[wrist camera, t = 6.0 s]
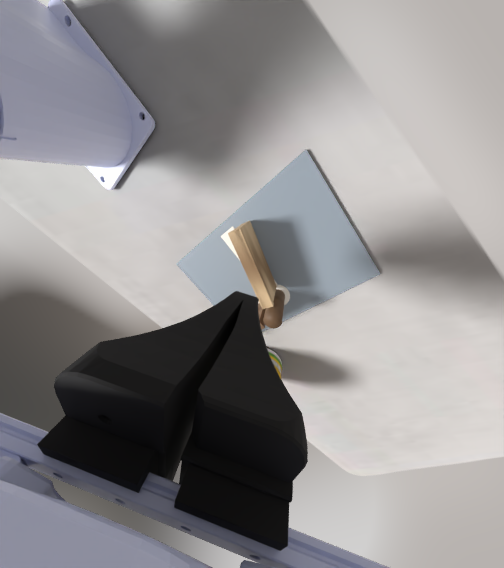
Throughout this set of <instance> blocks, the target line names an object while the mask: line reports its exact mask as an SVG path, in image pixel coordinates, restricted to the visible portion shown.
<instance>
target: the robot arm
mask: <svg viewBox="0 0 504 568" xmlns="http://www.w3.org/2000/svg"><path fill="white" fill-rule="evenodd" d="M70 21H71V25H70ZM143 114H144V115H145V119H144V120H143V118H142V116H143ZM154 128H155V121H154V119H153V118H152V116H151V115H150V114H149V112H148V111H147V110H146V108H145V107H144V106H143V105H142V103H141V102H140V101H139V99H138V98H137V97H136V95H135V94H134V93H133V91H132V90H131V89H130V88H129V86H128V85H127V84H126V82H125V81H124V80H123V78H122V77H121V76H120V75H119V73H118V72H117V71H116V69H115V68H114V67H113V65H112V64H111V63H110V61H109V60H108V59H107V58H106V56H105V55H104V54H103V52H102V51H101V50H100V48H99V47H98V46H97V45H96V43H95V42H94V41H93V39H92V38H91V37H90V35H89V34H88V33H87V31H86V30H85V29H84V28H83V26H82V25H81V24H80V22H79V21H78V20H77V18H76V17H75V16H74V15H73V13H72V12H71V11H70V9H69V8H68V7H67V5H66V4H65V3H64V2H63V1H62V0H50V1H49V4H48V8H47V7H46V6H45V5H43V4H42V3H40V2H39V1H37V0H0V159H10V160H22V161H33V162H45V163H56V164H68V165H79V166H86V167H87V168H88V169H89V171H90V172H91V173H92V174H93V175H94V176H95V177H96V178H97V179H98V180H99V182H100V183H101V184H102V185H103V186H104V187H105V188H106V189H108V190H113V189H114V188H115V187H116V185H117V184H118V182H119V181H120V179H121V178H122V176H123V175H124V173H125V172H126V170H127V169H128V167H129V166H130V164H131V163H132V161H133V160H134V158H135V157H136V155H137V154H138V152H139V151H140V149H141V148H142V146H143V145H144V143H145V142H146V140H147V139H148V137H149V136H150V134H151V133H152V131H153V130H154ZM104 178H105V180H104ZM258 302H259V299H258V297H255V296H251V295H248V294H245V293H242V292H239V291H235V292H233V293H232V294H231V295H229V296H228V297H226V298H225V299H223V300H222V301H220V302H219V303H217V304H216V305H214V306H213V307H211V308H209V309H207V310H205V311H204V312H202V313H200V314H198V315H196V316H194V317H192V318H190V319H187V320H185V321H183V322H180V323H177V324H174V325H171V326H168V327H165V328H162V329H159V330H155V331H152V332H148V333H144V334H140V335H136V336H131V337H126V338H120V339H115V340H110V341H103V342H100V343H98V344H97V345H96V346H94V347H93V348H92V349H90V350H89V351H88V352H86V353H85V354H84V355H83V356H81V357H80V358H79V359H78V360H76V361H75V362H74V363H73V364H71V365H70V366H69V367H68V368H66V369H65V370H64V371H63V372H62V373H60V374H59V375H58V376H57V377H56V379H55V384H54V388H55V392H56V394H57V397H58V399H59V401H60V403H61V406H62V408H63V410H64V412H65V414H66V416H65V417H64V418H63V419H62V420H61V421H60V422H59V423H58V424H57V425H56V426H55V427H54V428H53V429H52V430H51V431H50V432H47V431H44V430H42V429H39V428H37V427H34V426H32V425H29V424H27V423H24V422H22V421H19V420H17V419H14V418H12V417H9V416H7V415H4V414H2V413H0V568H212V567H210V566H208V565H206V564H204V563H202V562H200V561H198V560H196V559H194V558H192V557H190V556H188V555H186V554H184V553H182V552H180V551H178V550H176V549H174V548H172V547H169V546H168V545H166V544H164V543H162V542H160V541H157V540H155V539H153V538H151V537H149V536H146V535H144V534H142V533H140V532H138V531H135V530H133V529H131V528H129V527H127V526H124V525H122V524H120V523H117V522H115V521H113V520H110V519H108V518H105V517H103V516H100V515H98V514H96V513H93V512H91V511H88V510H86V509H83V508H81V507H78V506H75V505H73V504H70V503H67V502H66V501H65V500H64V499H63V498H62V497H61V496H60V495H59V494H58V493H57V491H56V490H55V489H54V486H53V483H52V481H51V480H49V479H47V478H45V477H44V476H42V475H40V474H39V473H37V472H35V471H34V470H36V471H39V472H41V473H44V474H46V475H49V476H51V477H53V478H56V479H58V480H61V481H63V482H65V483H68V484H70V485H72V486H75V487H77V488H80V489H82V490H84V491H87V492H89V493H92V494H94V495H97V496H99V497H101V498H104V499H106V500H108V501H111V502H113V503H116V504H118V505H121V506H123V507H125V508H128V509H130V510H133V511H135V512H137V513H140V514H142V515H145V516H147V517H149V518H152V519H154V520H157V521H159V522H161V523H164V524H166V525H169V526H171V527H173V528H176V529H178V530H181V531H183V532H185V533H188V534H190V535H193V536H195V537H197V538H200V539H202V540H205V541H207V542H209V543H212V544H214V545H217V546H219V547H222V548H224V549H226V550H229V551H231V552H233V553H236V554H238V555H241V556H243V557H245V558H248V559H251V560H253V561H255V562H257V563H255V562H251V561H246V560H244V561H243V562H242V563H241V566H240V568H389V567H387V566H384V565H381V564H379V563H377V562H374V561H371V560H369V559H366V558H364V557H361V556H359V555H356V554H354V553H351V552H349V551H346V550H344V549H341V548H339V547H336V546H334V545H331V544H329V543H326V542H324V541H321V540H319V539H316V538H314V537H311V536H308V535H306V534H304V533H301V532H298V531H296V530H293V529H291V528H288V522H289V502H291V501H292V490H293V480H294V479H295V478H296V476H297V475H298V474H299V473H300V472H301V471H302V470H303V469H304V467H305V466H306V464H307V462H308V461H307V454H308V452H307V440H306V433H305V427H304V422H303V417H302V413H301V411H300V410H299V408H298V407H297V405H296V404H295V402H294V401H293V399H292V397H291V396H290V394H289V393H288V391H287V389H286V388H285V386H284V384H283V382H282V380H281V379H280V377H279V374H278V372H277V370H276V368H275V366H274V364H273V362H272V360H271V357H270V355H269V352H268V350H267V347H266V344H265V341H264V338H263V334H262V330H261V325H260V320H259V312H258ZM181 460H182V465H181V473H180V482H179V484H178V483H175V482H173V479H174V476H175V473H176V471H177V468H178V466H179V463H180V461H181ZM30 468H32V469H34V470H32V469H30ZM259 563H260V564H259Z"/></svg>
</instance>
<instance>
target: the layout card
mask: <svg viewBox="0 0 504 568" xmlns="http://www.w3.org/2000/svg"><path fill="white" fill-rule="evenodd" d="M248 221H250V222H251V224H252V227H253V229H254V232H255V234H256V237H257V239H258V241H259V244H260V246H261V249H262V251H263V254H264V256H265V259H266V261H267V264H268V266H269V269H270V271H271V273H272V276H273V278H274V281H275V283H276V286H277V287H276V289H279V290H281V291H283V292H284V294H285V301H284V310H283V318H282V322H283V321H285V320H287V319H289V318H291V317H293V316H295V315H297V314H299V313H301V312H304V311H306V310H308V309H310V308H312V307H314V306H316V305H318V304H320V303H322V302H324V301H326V300H328V299H330V298H332V297H334V296H336V295H338V294H341V293H343V292H345V291H347V290H349V289H351V288H353V287H355V286H357V285H359V284H361V283H363V282H365V281H367V280H369V279H371V278H373V277H375V276H377V275H380V272H379V270H378V269H377V267H376V265H375V264H374V262H373V260H372V259H371V257H370V255H369V254H368V252H367V250H366V249H365V247H364V245H363V244H362V242H361V240H360V239H359V237H358V235H357V234H356V232H355V230H354V229H353V227H352V225H351V223H350V222H349V220H348V218H347V217H346V215H345V213H344V212H343V210H342V208H341V207H340V205H339V203H338V202H337V200H336V198H335V197H334V195H333V193H332V192H331V190H330V188H329V187H328V185H327V183H326V182H325V180H324V178H323V177H322V175H321V173H320V172H319V170H318V168H317V166H316V165H315V163H314V161H313V160H312V158H311V156H310V155H309V153H308V151H307V150H305V151H304V152H303V153H301V154H300V155H299V156H298V157H297V158H296V159H295V160H293V161H292V162H291V163H290V164H289V165H288V166H287V167H286V168H284V169H283V170H282V171H281V172H280V173H279V174H278V175H276V176H275V177H274V178H273V179H272V180H271V181H270V182H269V183H267V184H266V185H265V186H264V187H263V188H262V189H261V190H259V191H258V192H257V193H256V194H255V195H254V196H253V197H252V198H250V199H249V200H248V201H247V202H246V203H245V204H244V205H242V206H241V207H240V208H239V209H238V210H237V211H236V212H235V213H233V214H232V215H231V216H230V217H229V218H228V219H227V220H225V221H224V222H223V223H222V224H221V225H220V226H219V227H218V228H216V229H215V230H214V231H213V232H212V233H211V234H210V235H208V236H207V237H206V238H205V239H204V240H203V241H202V242H201V243H199V244H198V245H197V246H196V247H195V248H194V249H193V250H191V251H190V252H189V253H188V254H187V255H186V256H185V257H184V258H182V259H181V260H180V261H179V262H178V263H177V265H178V267H179V268H180V269H181V270H182V271H183V272H184V273H185V274H186V275H187V276H188V278H189V279H190V280H191V281H192V282H193V283H194V284H195V285H196V286H197V288H198V289H199V290H200V291H201V292H202V293H203V294H204V295H205V296H206V298H207V299H208V300H209V301H210V302H211V303H212V304H213V305H216V304H217V303H219V302H220V301H222V300H223V299H225V298H226V297H228V296H229V295H231V294H232V293H233V292H235V291H239V292H242V293H245V294H248V295H251V296H255V297H257V296H256V294H255V292H254V290H253V288H252V286H251V283H250V281H249V279H248V277H247V275H246V272H245V270H244V268H243V266H242V264H241V261H240V259H239V257H238V255H237V253H236V251H235V248H234V246H233V244H232V242H231V240H230V237H229V235H228V233H229V232H231V231H233V230H234V229H235V228H237V227H238V226H240V225H241V224H243V223H245V222H248ZM258 304H259V302H258ZM269 328H270V327H268V326H266V325H265V328H264V329H262V331H265V330H267V329H269Z"/></svg>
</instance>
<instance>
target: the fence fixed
mask: <svg viewBox="0 0 504 568" xmlns="http://www.w3.org/2000/svg"><path fill="white" fill-rule="evenodd" d="M284 301H285V294H284V292H283V291H281V290H279V289H276V292H275V296H274V301H273V302H274V306H273V307H270V308H265V309H262V307H261V305H260V303H259V304H258V312H259V320H260V325H261V330H262V329H264V328H265V325H266V326H268V327H270V328H278V327H279V326H280V325H281V324H282V318H283V310H284Z"/></svg>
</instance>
